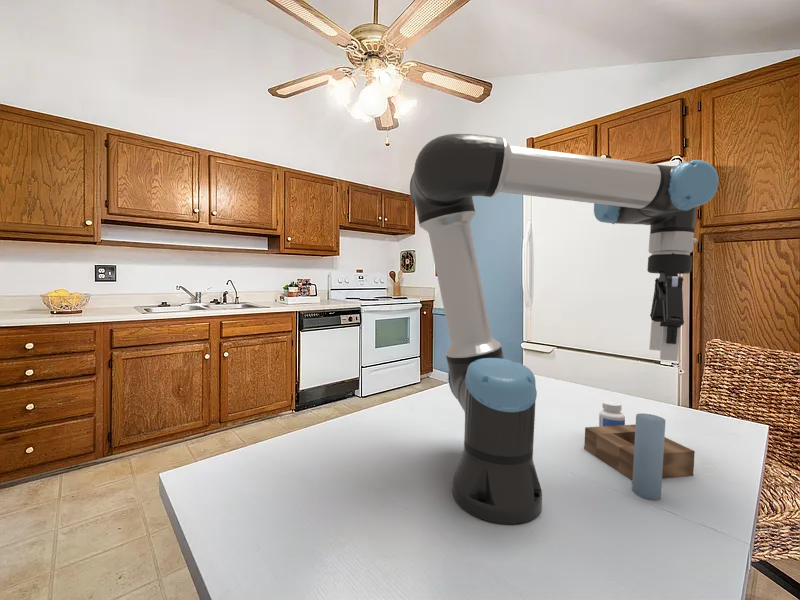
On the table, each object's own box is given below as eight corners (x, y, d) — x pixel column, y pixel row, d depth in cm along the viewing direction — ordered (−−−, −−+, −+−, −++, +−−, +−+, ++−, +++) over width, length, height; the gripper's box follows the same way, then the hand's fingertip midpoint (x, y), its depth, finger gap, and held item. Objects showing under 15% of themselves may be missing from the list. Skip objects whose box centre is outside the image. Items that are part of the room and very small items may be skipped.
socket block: (633, 480, 71) (634, 455, 71) (584, 448, 85) (585, 427, 85) (693, 475, 74) (694, 451, 74) (636, 444, 88) (637, 424, 88)
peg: (646, 501, 65) (650, 423, 64) (626, 487, 69) (630, 414, 68) (667, 499, 66) (671, 421, 65) (646, 485, 70) (650, 413, 69)
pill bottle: (630, 447, 87) (630, 406, 87) (609, 448, 86) (609, 406, 86) (613, 438, 93) (614, 399, 93) (594, 439, 92) (594, 400, 92)
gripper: (710, 248, 65) (700, 368, 66) (678, 259, 87) (671, 348, 88) (659, 248, 68) (650, 362, 69) (640, 258, 90) (634, 344, 91)
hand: (662, 354), depth 78 cm, fingers open, 13 cm apart
